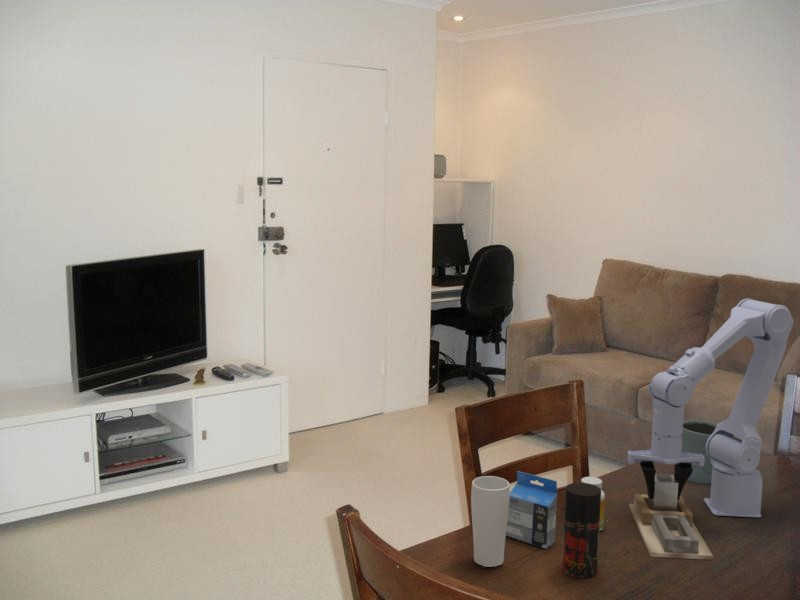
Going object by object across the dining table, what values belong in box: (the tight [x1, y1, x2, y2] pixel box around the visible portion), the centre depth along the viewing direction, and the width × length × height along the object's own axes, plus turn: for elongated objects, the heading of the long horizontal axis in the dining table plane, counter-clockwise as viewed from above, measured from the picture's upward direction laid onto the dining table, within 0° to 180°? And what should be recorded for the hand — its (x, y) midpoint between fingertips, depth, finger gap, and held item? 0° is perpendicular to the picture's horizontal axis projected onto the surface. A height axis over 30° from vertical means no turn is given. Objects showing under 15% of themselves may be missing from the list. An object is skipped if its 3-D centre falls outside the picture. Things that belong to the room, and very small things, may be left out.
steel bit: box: [649, 472, 678, 512], centre depth 162 cm, size 4×4×8 cm
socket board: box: [628, 493, 714, 561], centre depth 157 cm, size 11×22×3 cm, turn 174°
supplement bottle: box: [580, 476, 606, 532], centre depth 159 cm, size 5×5×10 cm
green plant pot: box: [681, 420, 718, 485], centre depth 185 cm, size 10×10×12 cm
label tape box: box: [506, 470, 558, 549], centre depth 153 cm, size 9×4×12 cm, turn 53°
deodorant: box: [562, 482, 602, 579], centre depth 141 cm, size 6×6×15 cm
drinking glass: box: [470, 475, 511, 568], centre depth 144 cm, size 7×7×15 cm
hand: (663, 497), depth 162 cm, fingers closed on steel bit, 4 cm apart
